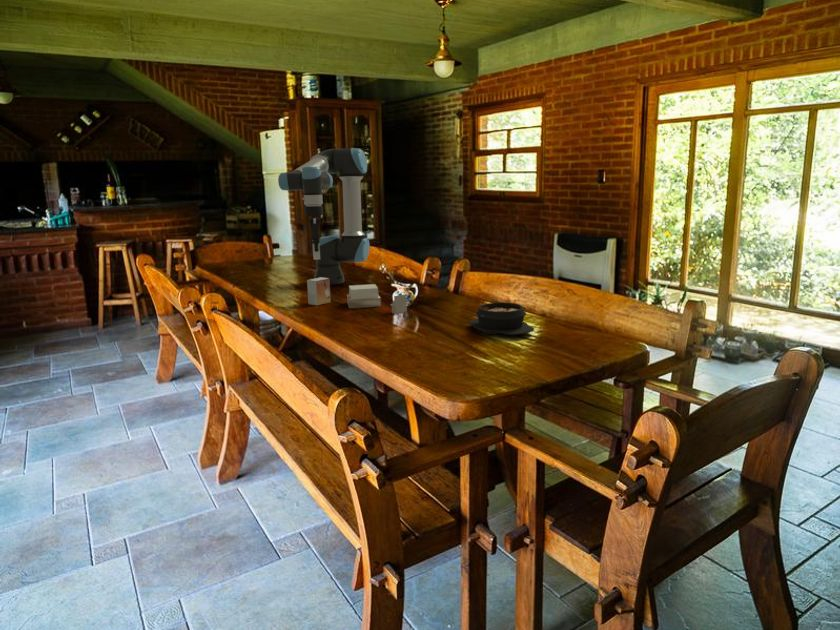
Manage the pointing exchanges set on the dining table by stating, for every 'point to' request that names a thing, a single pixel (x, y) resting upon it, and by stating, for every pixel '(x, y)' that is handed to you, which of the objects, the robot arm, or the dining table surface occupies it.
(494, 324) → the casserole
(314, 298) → the small box
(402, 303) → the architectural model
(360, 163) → the robot arm
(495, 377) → the dining table surface
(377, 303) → the tower base slab
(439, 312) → the dining table surface
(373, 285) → the tower top slab
